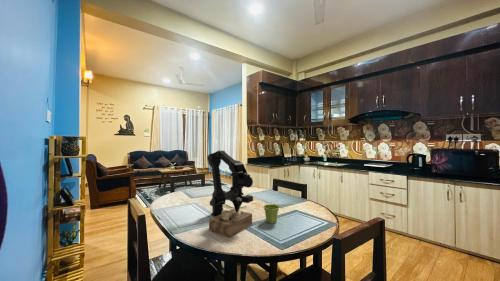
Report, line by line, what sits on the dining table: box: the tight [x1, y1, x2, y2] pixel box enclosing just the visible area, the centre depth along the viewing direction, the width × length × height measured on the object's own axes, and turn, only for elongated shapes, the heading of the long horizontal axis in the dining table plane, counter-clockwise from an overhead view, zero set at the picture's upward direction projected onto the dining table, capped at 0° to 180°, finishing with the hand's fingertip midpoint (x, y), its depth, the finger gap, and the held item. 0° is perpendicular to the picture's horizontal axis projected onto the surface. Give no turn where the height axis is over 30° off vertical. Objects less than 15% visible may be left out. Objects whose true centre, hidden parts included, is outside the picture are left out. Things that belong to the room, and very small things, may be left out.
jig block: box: [208, 208, 253, 238], centre depth 112 cm, size 14×20×6 cm
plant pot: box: [263, 203, 280, 224], centre depth 120 cm, size 9×9×9 cm
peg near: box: [222, 209, 230, 222], centre depth 108 cm, size 4×4×5 cm
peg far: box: [234, 210, 242, 216], centre depth 116 cm, size 4×4×5 cm
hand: (237, 211), depth 116 cm, fingers closed, pressing on peg far
